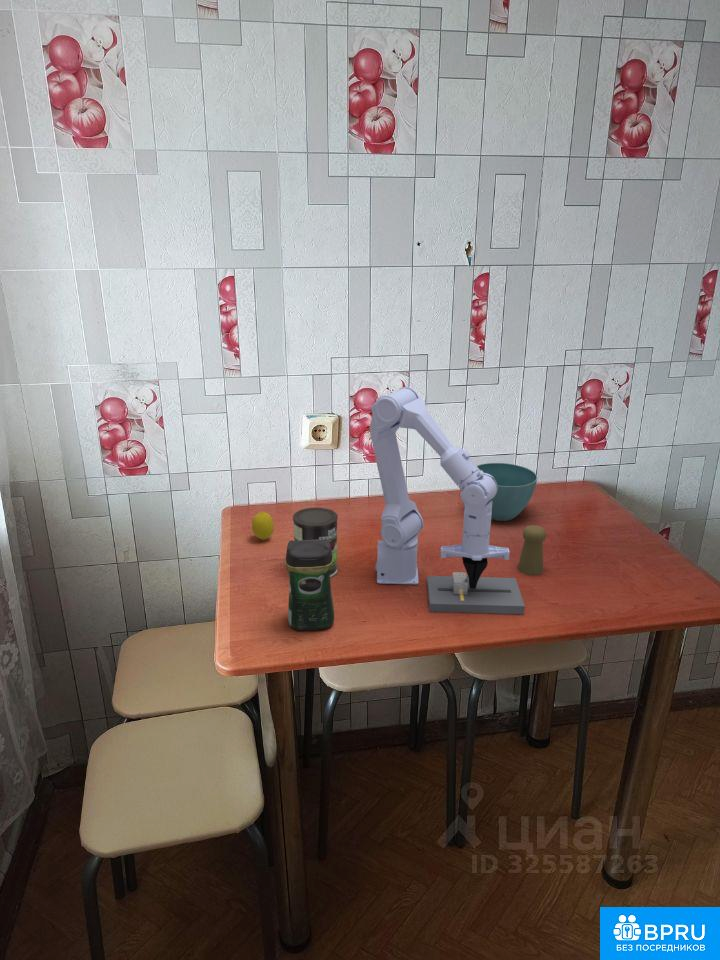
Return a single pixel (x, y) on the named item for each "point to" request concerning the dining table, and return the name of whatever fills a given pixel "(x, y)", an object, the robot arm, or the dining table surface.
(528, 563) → the cork
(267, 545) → the dining table surface
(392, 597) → the dining table surface
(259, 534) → the lemon
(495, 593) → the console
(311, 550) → the coffee jar
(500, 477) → the teal bowl
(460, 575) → the fader
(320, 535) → the coffee can
